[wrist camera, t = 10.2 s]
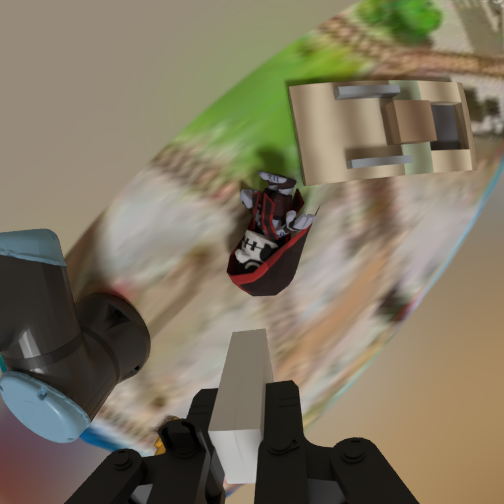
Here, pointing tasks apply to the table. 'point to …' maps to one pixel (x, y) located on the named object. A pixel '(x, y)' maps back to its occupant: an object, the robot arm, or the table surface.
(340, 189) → the table surface
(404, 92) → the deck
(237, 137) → the table surface
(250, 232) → the toy
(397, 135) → the block
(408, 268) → the table surface
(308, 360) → the table surface
